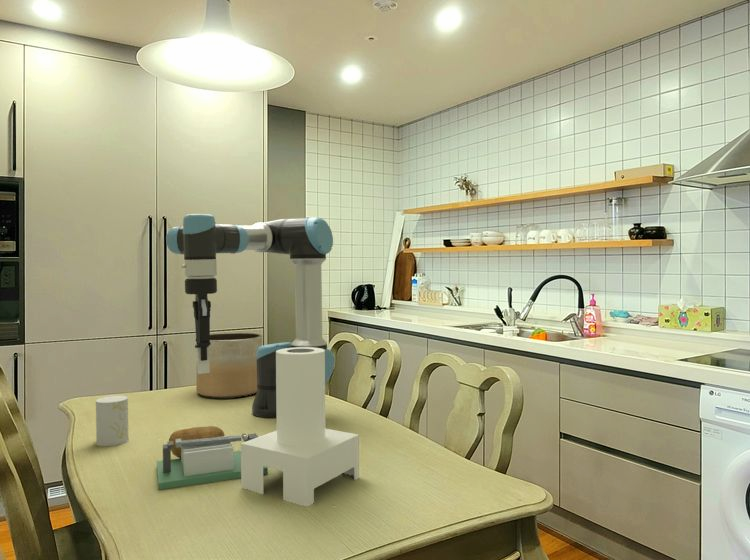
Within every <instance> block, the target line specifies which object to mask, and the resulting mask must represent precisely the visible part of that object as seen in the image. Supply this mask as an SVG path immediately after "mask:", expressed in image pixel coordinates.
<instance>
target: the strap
mask: <svg viewBox="0 0 750 560" xmlns="http://www.w3.org/2000/svg"><path fill="white" fill-rule="evenodd" d="M224 436H225V437H215V438H204V439H193V440H183V441H181V439H175V445H176V448H178V447H184V446H194V445H205V444H215V443H225V442H231V443H235V442H241V441H242V440H243V442H246V441H248V434H246V433H242V434H241V435H240V434H239V435H238V434H237V435H224Z"/></svg>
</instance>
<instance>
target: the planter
mask: <svg viewBox="0 0 750 560" xmlns="http://www.w3.org/2000/svg"><path fill="white" fill-rule="evenodd" d="M210 343H211V345H209V363H210V373H203V374H198V364H197V363H196V392H197V393H198V394H199V395H201V396H202V397H206V398H209V397H211V399H234V398H233V397H238V398H242V397H241V396H245V397H248V395H249V396H252V394H253V395H256V394H255V393H256V392H257V360H256V358H257V350H258V348H259V347H260V346H263V335H262V334H260V333H255V332H254V333H253V332H224V333H221V332H220V333H211V334H210Z"/></svg>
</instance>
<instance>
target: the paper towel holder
mask: <svg viewBox="0 0 750 560" xmlns="http://www.w3.org/2000/svg"><path fill="white" fill-rule="evenodd" d="M276 416H277V417H276V430H274V431H271V432H268V433H266V434H264V435H260V436H258V437H257V438H254V439H252V440H249V441H246V442H245V441H243V442H241V443H240V451H241V478H240V479H241V480H240V483H241V484H240V485H241V489H242V488H244V489H243V490H246V489H248V490H247V491H249V490H252V491H251V492H253V491H255V492H254V493H256V492H258V494H260V493H262V494H261V495H264V474H263V466H266V467H268V468H271V469H275V470H279V471H282V476H283V477H282V485H283V486H282V488H283V489H282V493H283V494H282V497H283V501H284V500H286V501H285V502H288V501H290V502H289V503H291V502H293V503H292V504H295V503H296V504H295V505H298V504H301V505H300V506H302V505H304V506H303V507H305V506H309V507H311V506H312V505H311V504H313V503H314V504H315V489H316V488H318V487H319V486H322V485H324V484H325V483H327V482H329V481H331V480H333V479H335V478H336V477H338V476H340V475H342V473H345V474H344V475H346V474H349V475H348V476H351V475H353V476H352V477H354V479H353V480H354V481H355V479H356V480H358V479H359V478H360V435H359V434H357V433H352V432H346V431H341V430H335V429H331V428H326V383H325V350H324V349H321V348H314V347H295V348H285V349H280V350H277V351H276ZM358 477H359V478H358ZM314 504H313V505H314ZM310 505H311V506H310Z"/></svg>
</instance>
